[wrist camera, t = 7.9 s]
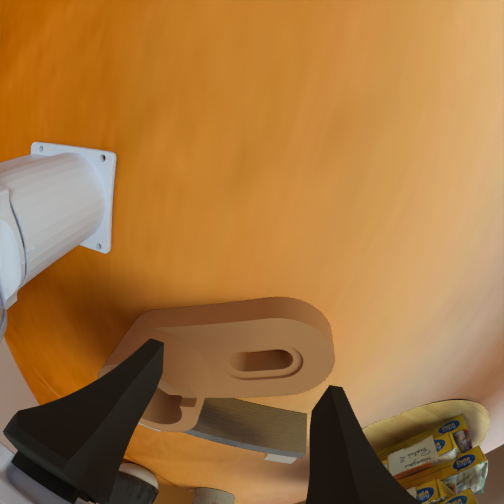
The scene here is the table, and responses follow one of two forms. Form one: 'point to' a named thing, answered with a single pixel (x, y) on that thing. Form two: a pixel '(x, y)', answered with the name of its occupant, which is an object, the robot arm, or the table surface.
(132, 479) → the grey white egg device
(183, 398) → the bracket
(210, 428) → the bar
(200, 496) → the thermos bottle
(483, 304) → the table surface
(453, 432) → the stacked boxes on plate
